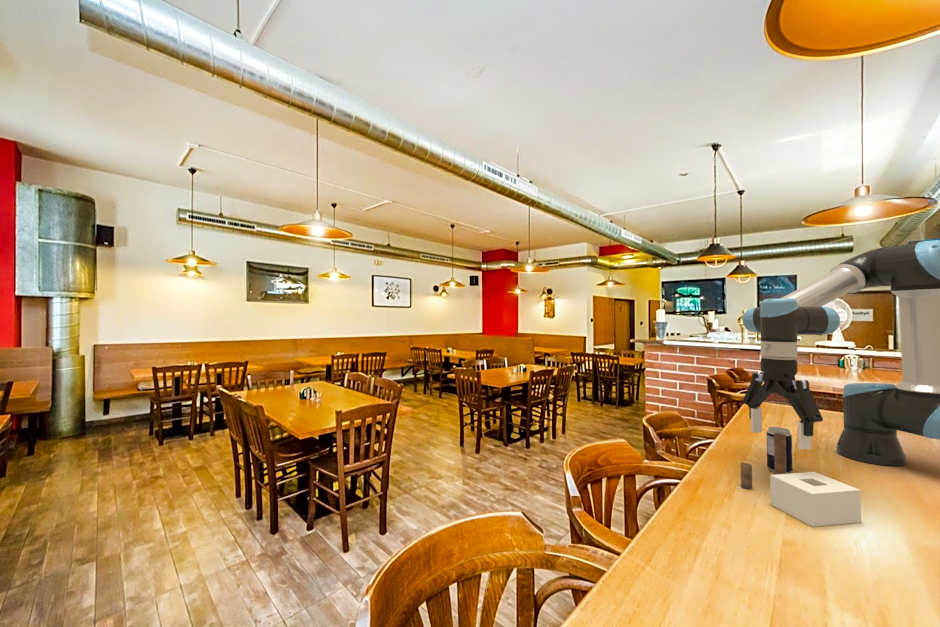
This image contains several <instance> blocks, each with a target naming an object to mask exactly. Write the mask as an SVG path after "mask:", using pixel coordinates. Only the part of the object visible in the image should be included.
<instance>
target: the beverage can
mask: <svg viewBox="0 0 940 627" xmlns="http://www.w3.org/2000/svg"><path fill="white" fill-rule="evenodd" d="M774 433H780V434H784V435H786V474H790V473H791V472H793V436H792V434H791V430H790V429H788V428H785V427H784V428H783V427H778V426H769V427H768V430H767V431H766V466H767V467H768V469H769V470H771V472H774V473H775V463H774Z"/></svg>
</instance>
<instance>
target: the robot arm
mask: <svg viewBox="0 0 940 627" xmlns="http://www.w3.org/2000/svg"><path fill="white" fill-rule="evenodd" d="M878 287H890V293H892V294H893V295H895V296H896V297H898V305H899V306H898V308H899V310H898V311H899V331H900V352H901V353H900V357H901V373H902V374H901V375H902V376H901V377H902V380H901V381H900V382H899V383H897V384H896V385H895V384H894V383H885V382H883V383H880V382H879V383H878V382H876V383H874V382H872V383H870V382H860V383H859V382H858V383H857V382H855V383H848V384H846V385H844V386H843V389H842V390H843V392H842V409H843V410H842V411H843V412H842V414H843V416H842V417H843V430H842V432H841V434H840V435H839V436H840V437H839V438H838V442H837V443H836V453H838V454H839V455H840V456H843V457H845V458H848V459H852V460H855V461H859V462H862V463H863V462H864V463H868V464H872V465H880V466H889V467H893V466H894V467H900V466H905V465H906V464H907V456H906V454H905V452H904V450H903V447H902V445H901V442H900V440H899V439H898V435H897V434H898V431H899V432H903V433H907V434H912V435H916V436H921V437H925V438H927V439H931V440H938V441H940V239H938V240H935V239H934V240H924V241H919V242H918V241H917V242H912V243H911V242H910V243H906V244H899V245H893V246H885V247H878V248H874V249H871V250H868V251H864V252H862V253H860V254H858V255H855V256H852V257H850V258H848V259H847V260H845V261H842V262H840V263H839V264H836V265H834V266H833V267H832V268H831V269H830V270H829V272H828V273H827V274H825V275H823V276H821V277H819V278H817V279H815V280H813V281H811V282H809V283H807V284H806V285H803V286H802V287H800V288H798V289H796V290H794V291H792V292H790V293H788V294H786V295H784V296H782V297H780V298H766V299H762V300H761V303H760V307H759V306H757V307H751V308H747V310H746V311H745V312H744V313H743V315H742V319H741V321H742V324H743V326H744V328H745V329H746V330H748V331H749V332H751V333H759V334H760V356H762V357H761V358H760V371H761V372H753V373H752V375H751V381H750V383H749V386H748V387H747V390H746V392H745V394H744V396H743V399H742V404H744V405H747V406H748V412H749V415H748V416H749V417H748V418H749V419H750V433H753V434H755V433H763V409H762V408H761V405H762V404H764V402H765V401H766V399H768V397H769V396H770V395H771V394H777V395H779V396H783V397H784V398H785V399H786V400H787V401H788V403H789V405H791V407H792V409H794V412H795V413H796V414H797V416H798V417H799V419H800V420H798V422H797V440H798V441H797V444H798V445H797V446H798V448H797V449H799V450H812V437H813V436H814V433H815V432H814V430H815V429H814V428H815V427H814V424H815V423H818V422H819V423H820V422H823V421H824V418H823V416H822V414H821V412H820V409H819V407H818V405H817V403H816V401H815V399H814V397H813V394H812V392H811V390H810V382H809V381H808V379H807V380H806V379H805V380H804V379H802V380H798V379H796V374H798V361H797V359H795V358H798V357H799V356H798V336H799V335H801V336H802V335H803V336H812V335H813V336H823V335H830V334H832V333H834V332H836V331H837V330H838V329H839V327H840V324H841V317H840V315H839V313H838V312H837V311H836V310H835V309H833V307H829V306H826V305H828V304H829V303H831V302H833V301H835V300H837V299H838V298H841V297H842V296H844V295H846V294H853V293H858V292H860V291H862V290H864V289H869V288H878Z"/></svg>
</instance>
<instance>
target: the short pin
mask: <svg viewBox="0 0 940 627" xmlns="http://www.w3.org/2000/svg"><path fill="white" fill-rule="evenodd" d="M740 487H741V488H742V489H745V490H753V465H752V464H750V463H747V462H741V463H740Z"/></svg>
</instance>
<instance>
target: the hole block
mask: <svg viewBox="0 0 940 627" xmlns="http://www.w3.org/2000/svg"><path fill="white" fill-rule="evenodd" d="M769 476H770V477H769V478H770V479H769V482H770V483H769V487H770V493H769V494H770V505H771V506H773V507H774V508H777V509H779V510H781V511H782V512H784V513H786V514H787V515H790V516H791V517H793V518H795V519H797V520H799V521H800V522H803V523H805V524H807V525H808V526H810V527H812V528H815V527H827V526H837V525H848V524H858V523H859V524H860V523H862V496H861V495H862V494H861V493H862V490H861V489H859V488H856V487H854V486H851V485H849V484H846V483H844V482H841V481H839V480H836V479H834V478H831V477H828V476H826V475H823V474H822V473H818V472H816V471H805V472H793V473H791V472H790V473H788V474H777V475H775V474H770V475H769Z"/></svg>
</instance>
